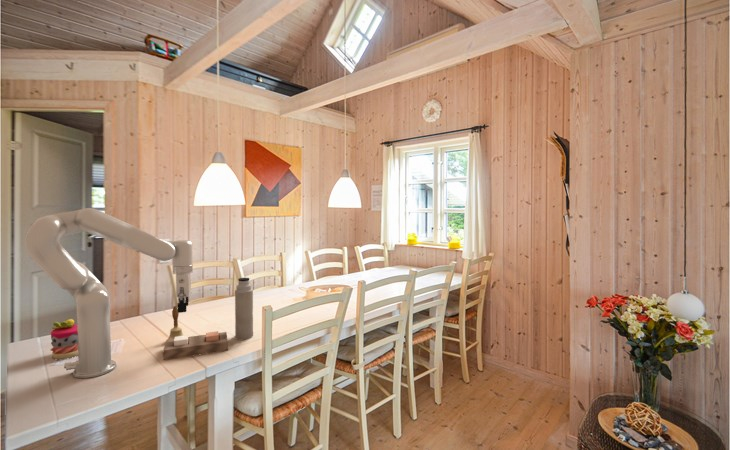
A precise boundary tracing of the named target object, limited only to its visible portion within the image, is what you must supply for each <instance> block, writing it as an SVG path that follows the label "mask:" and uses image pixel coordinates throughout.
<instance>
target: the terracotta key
mask: <svg viewBox="0 0 730 450" xmlns="http://www.w3.org/2000/svg"><path fill="white" fill-rule="evenodd" d="M218 333H219V330H218V331H210V332H208V331H207V332H205V335H206V342H208V341H215V340H219V334H218Z"/></svg>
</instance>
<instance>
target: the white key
mask: <svg viewBox="0 0 730 450" xmlns="http://www.w3.org/2000/svg"><path fill="white" fill-rule="evenodd" d="M188 337H189V335H188V334H186V335H184V336H177V337H175V339H174V346H179V345H186V344H188Z"/></svg>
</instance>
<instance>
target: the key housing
mask: <svg viewBox="0 0 730 450" xmlns="http://www.w3.org/2000/svg"><path fill="white" fill-rule="evenodd" d="M218 334H219V340H215V341H208V342H206V334H201V335H192V336H188V344H186V345H179V346H174V339H168V338H167V339H168V340H167V339H166V341H165V343H164V347H163V351H162V355H163V356H162V357H163V361H167V360H173V359H180V358H186V357H194V356H199V354H201V355H206V353H208V354H212V353H213V352H214V353H219V352H220V351H221V352H227V351H229V349H228V347H229V345H228V344H229V340H228V335H227V334H228V333H227V331H224V332H218ZM221 352H220V353H221ZM193 355H194V356H193Z"/></svg>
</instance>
